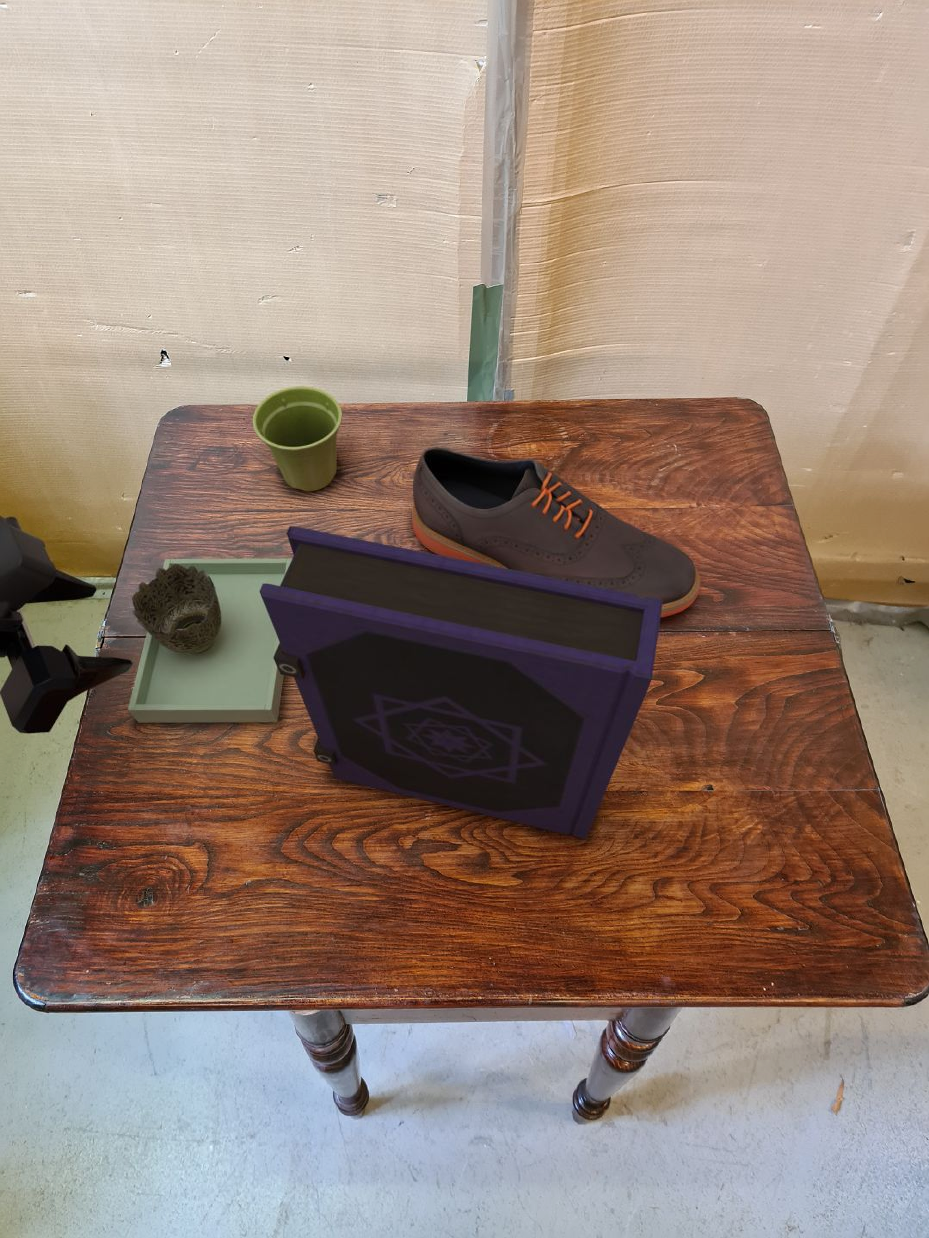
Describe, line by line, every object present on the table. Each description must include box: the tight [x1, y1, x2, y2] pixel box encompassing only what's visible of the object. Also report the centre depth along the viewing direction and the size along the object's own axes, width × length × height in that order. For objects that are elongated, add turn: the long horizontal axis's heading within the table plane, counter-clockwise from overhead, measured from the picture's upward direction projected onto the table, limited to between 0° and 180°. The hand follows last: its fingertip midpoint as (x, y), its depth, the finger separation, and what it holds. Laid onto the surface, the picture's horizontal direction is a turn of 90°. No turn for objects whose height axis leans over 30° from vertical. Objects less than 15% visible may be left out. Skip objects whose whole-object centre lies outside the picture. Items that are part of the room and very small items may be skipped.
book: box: [259, 525, 663, 840], centre depth 59 cm, size 24×6×30 cm, turn 76°
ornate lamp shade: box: [131, 564, 221, 654], centre depth 75 cm, size 8×7×8 cm
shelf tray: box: [127, 557, 293, 724], centre depth 78 cm, size 13×17×3 cm
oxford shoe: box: [411, 446, 702, 618], centre depth 80 cm, size 11×31×11 cm, turn 69°
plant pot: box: [252, 385, 343, 492], centre depth 88 cm, size 9×9×9 cm
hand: (111, 627), depth 71 cm, fingers open, 9 cm apart
